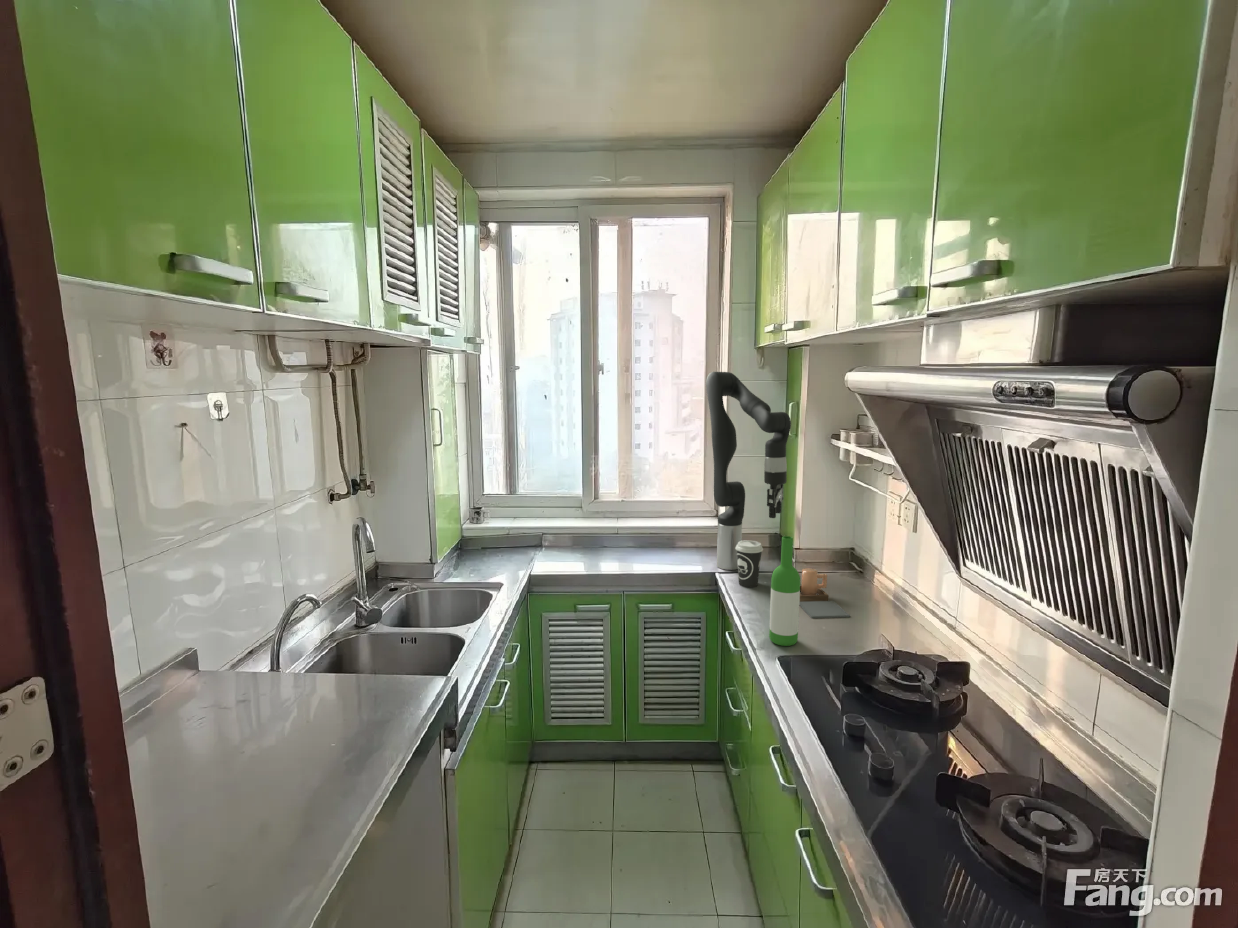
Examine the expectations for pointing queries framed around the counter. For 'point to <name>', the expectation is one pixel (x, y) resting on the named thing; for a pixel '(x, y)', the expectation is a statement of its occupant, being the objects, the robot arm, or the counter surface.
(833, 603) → the mat
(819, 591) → the holder
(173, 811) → the counter surface
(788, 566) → the wine bottle
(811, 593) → the orange mug
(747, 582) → the coffee cup
